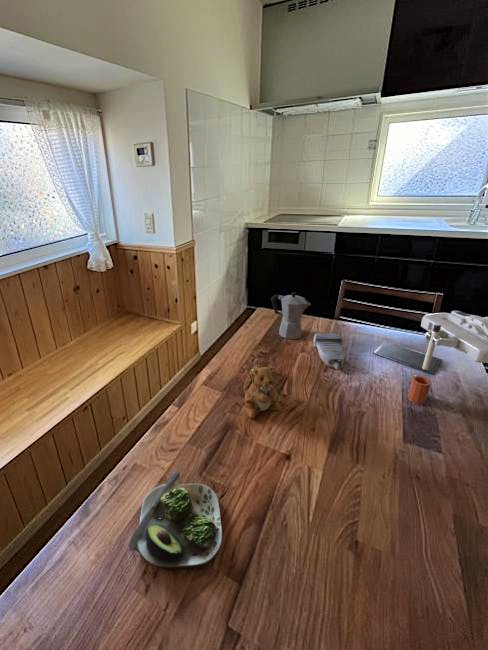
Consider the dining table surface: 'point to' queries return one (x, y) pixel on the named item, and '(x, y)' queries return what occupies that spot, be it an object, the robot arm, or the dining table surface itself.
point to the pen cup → (419, 389)
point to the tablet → (406, 356)
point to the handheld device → (330, 349)
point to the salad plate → (178, 526)
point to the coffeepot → (290, 314)
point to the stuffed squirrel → (260, 391)
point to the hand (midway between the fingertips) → (430, 338)
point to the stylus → (431, 346)
